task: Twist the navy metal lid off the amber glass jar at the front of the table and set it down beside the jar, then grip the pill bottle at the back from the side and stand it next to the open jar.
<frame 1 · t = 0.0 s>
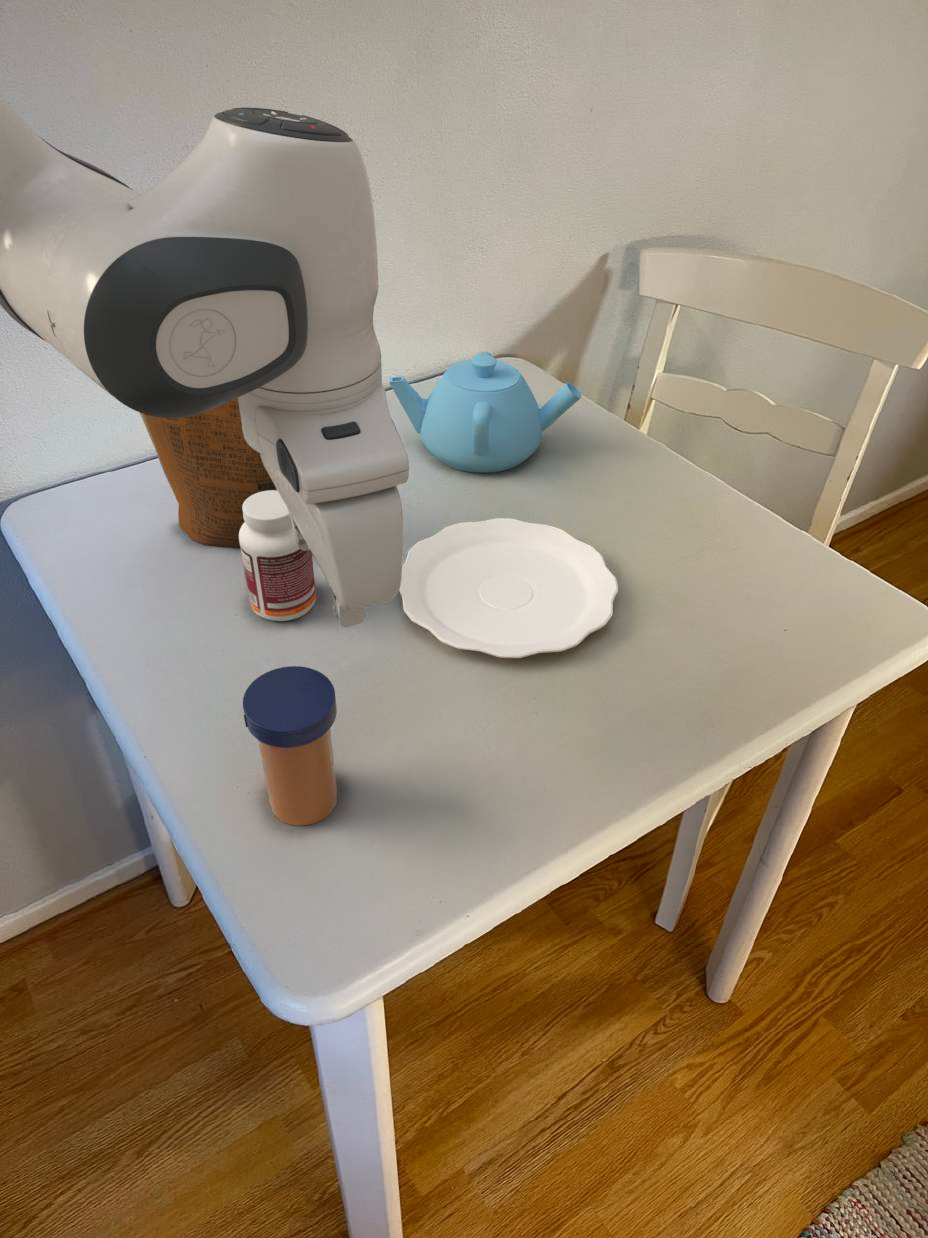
hand: (328, 579, 65), 14 cm above the table, tool pointing down, fingers open, 8 cm apart
jar lid: (289, 701, 61), point 10 cm above the table, screwed on, not yet turned
pancake mix bag: (254, 541, 92), on the table
teapot: (483, 449, 108), on the table
pill bottle: (283, 604, 85), on the table
plate: (505, 595, 87), on the table
jar: (303, 798, 67), on the table
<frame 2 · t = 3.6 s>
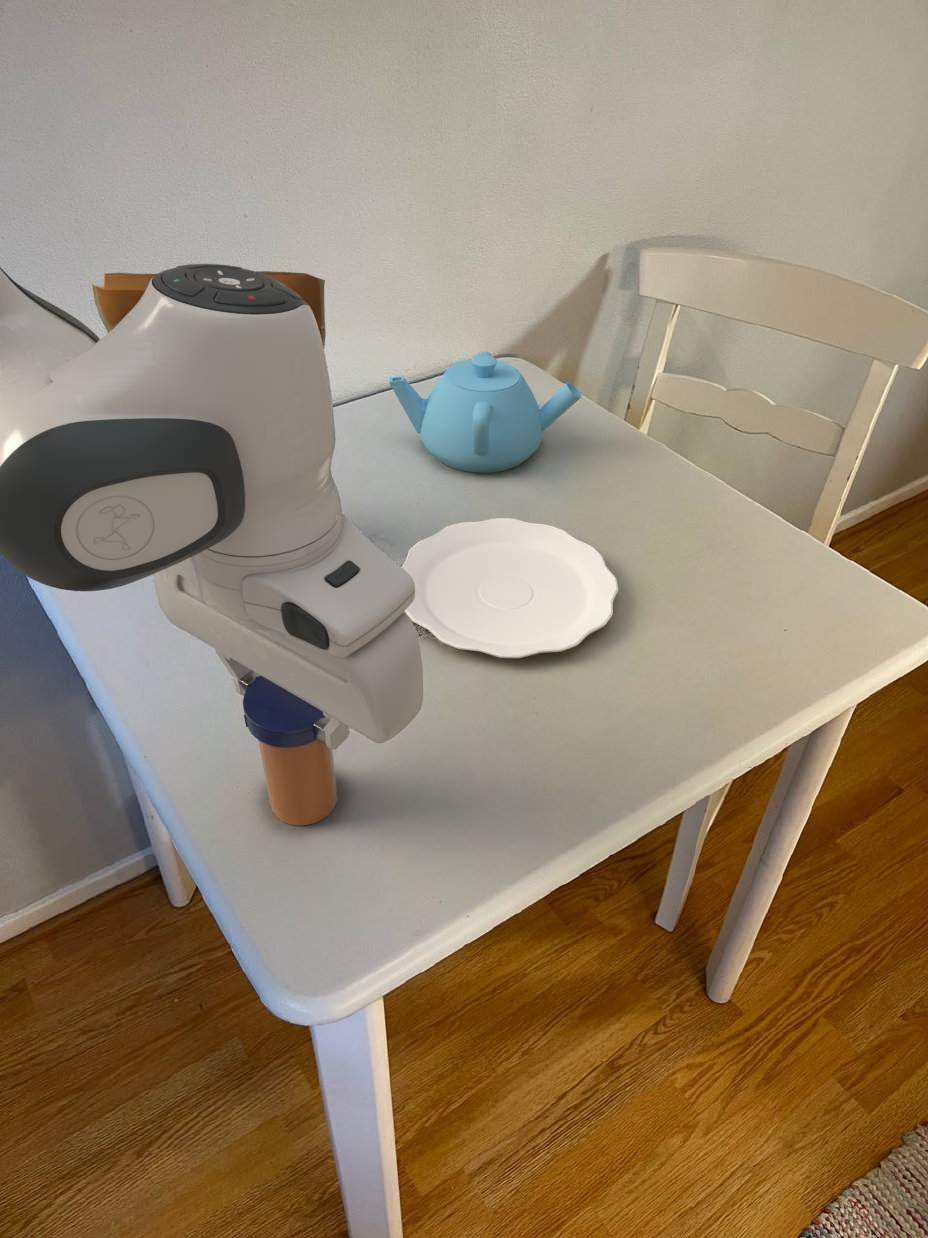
hand: (292, 715, 61), 9 cm above the table, tool pointing down, fingers closed on jar lid, 6 cm apart
jar lid: (289, 701, 61), point 10 cm above the table, screwed on, not yet turned, touching gripper
everything else where it was.
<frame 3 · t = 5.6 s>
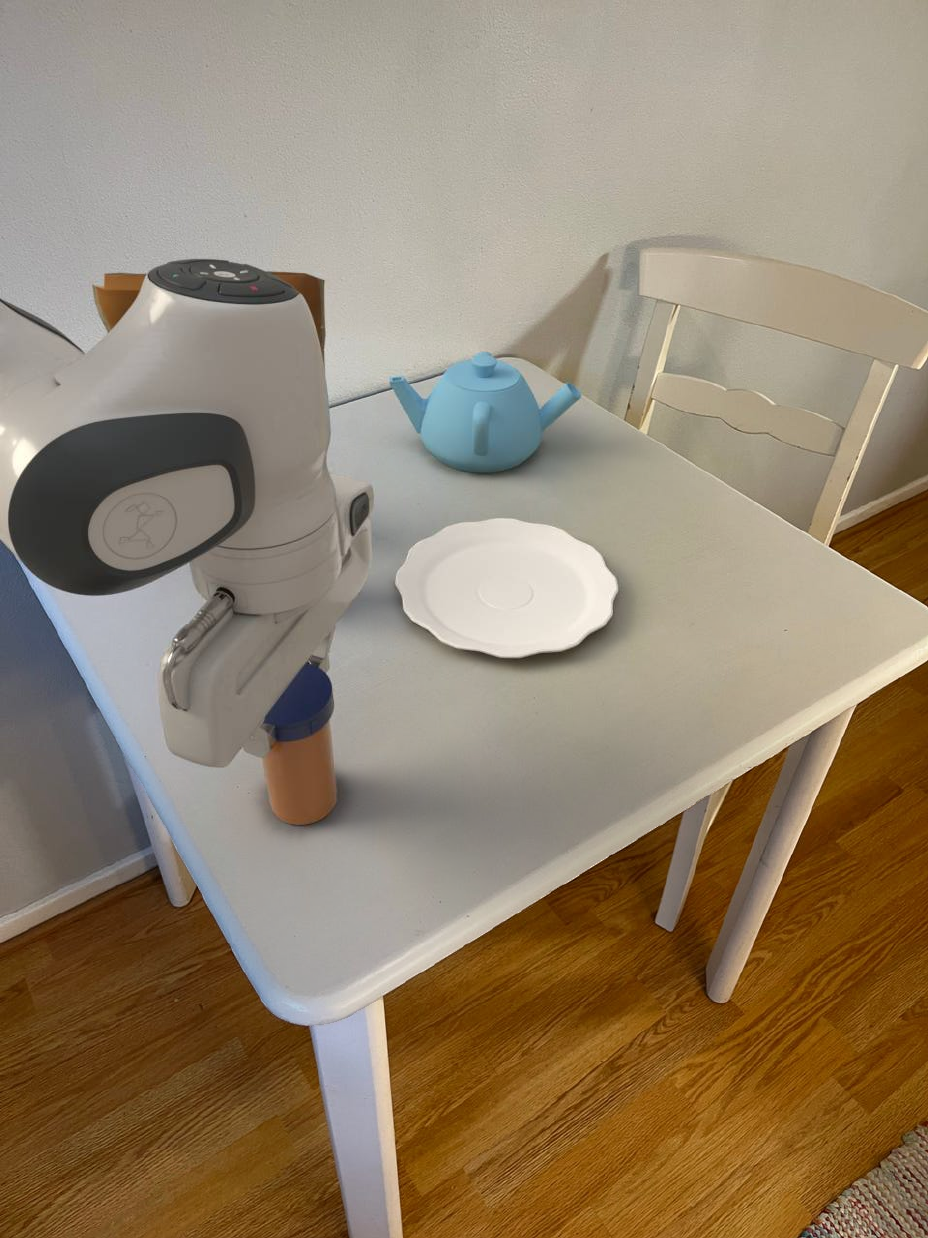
hand: (289, 709, 62), 9 cm above the table, tool pointing down, fingers closed on jar lid, 6 cm apart
jar lid: (287, 695, 61), point 11 cm above the table, off its thread, touching gripper, jar
jar: (303, 798, 67), on the table, touching jar lid
everything else where it was.
when the fingers open (0 cm above the table, at t = 14.8 s): jar lid stays where it is, point 1 cm above the table.
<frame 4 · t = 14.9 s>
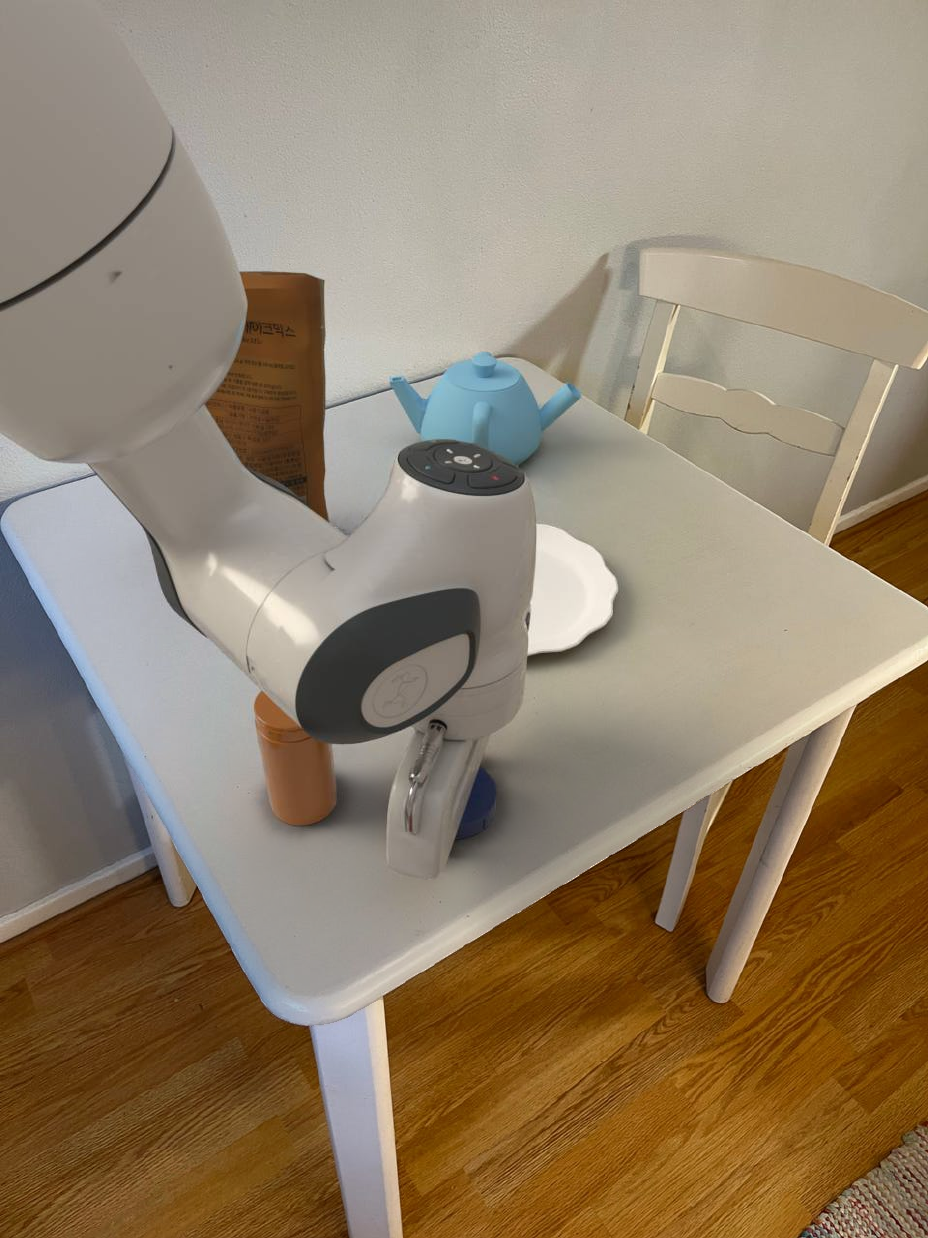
hand: (454, 806, 67), 0 cm above the table, tool pointing down, fingers open, 6 cm apart
jar lid: (455, 794, 66), point 1 cm above the table, off its thread
jar: (303, 798, 67), on the table
everything else where it was.
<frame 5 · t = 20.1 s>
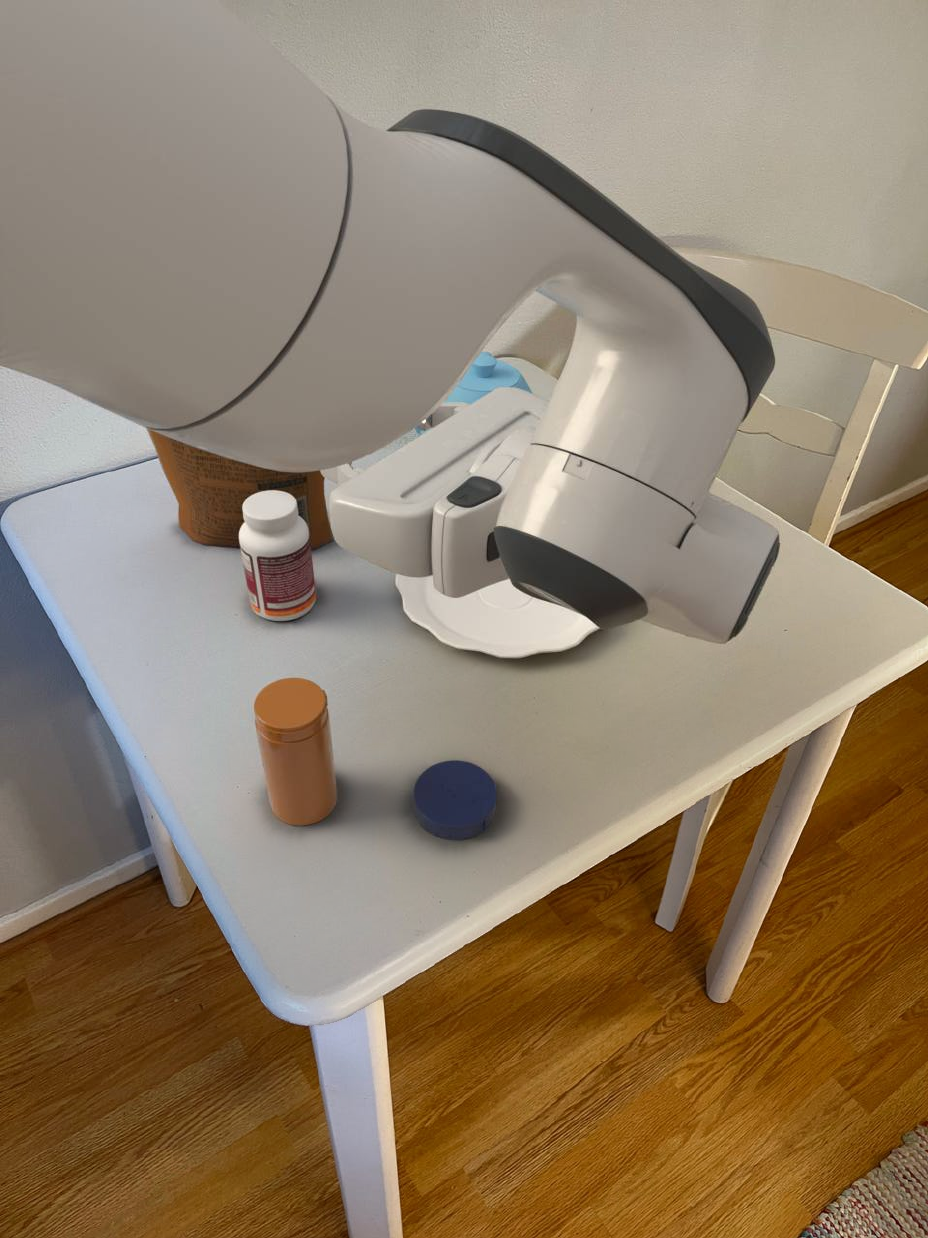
hand: (371, 434, 65), 22 cm above the table, tool horizontal, fingers open, 8 cm apart
jar lid: (455, 795, 66), point 1 cm above the table, off its thread
everything else where it was.
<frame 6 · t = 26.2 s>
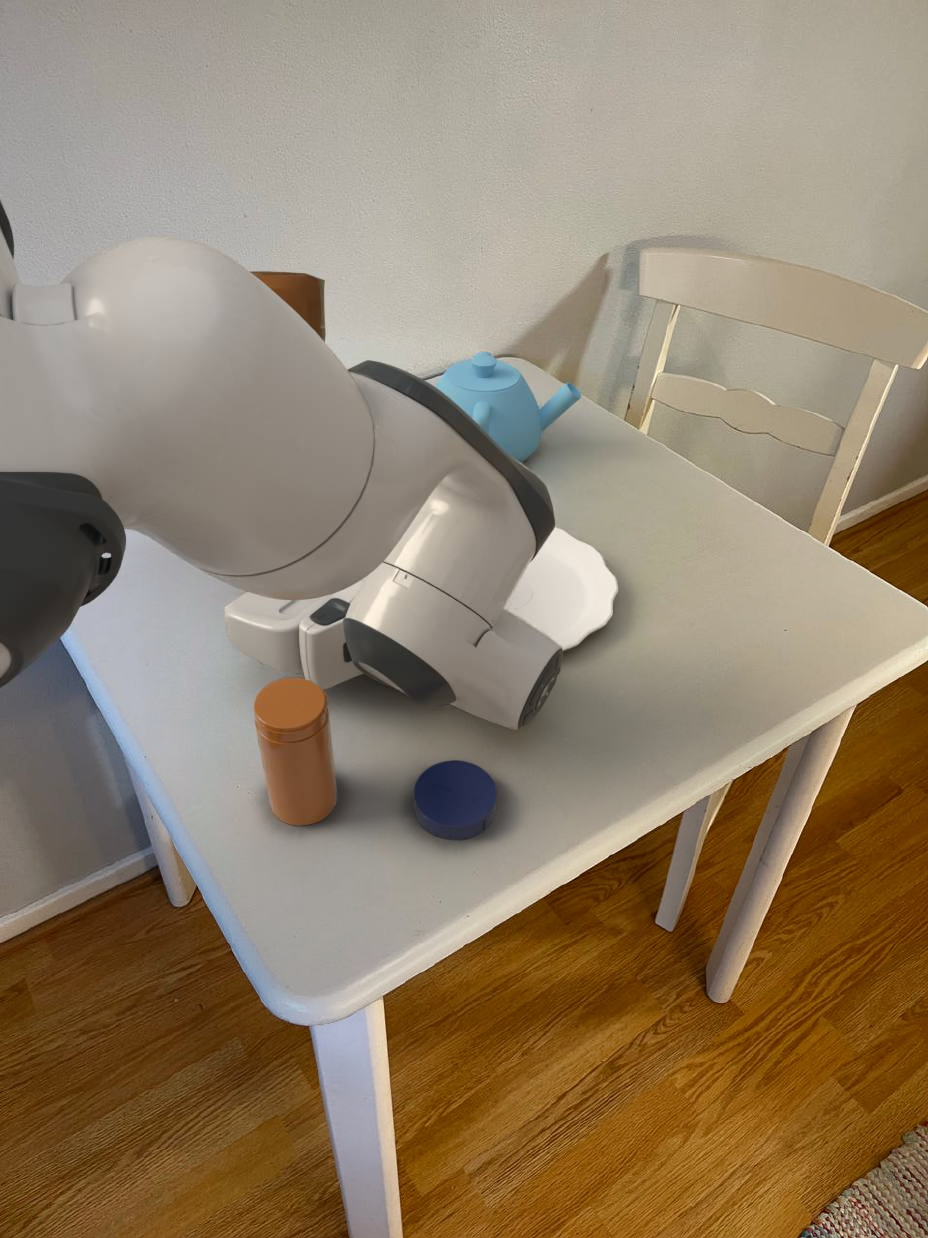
hand: (269, 547, 81), 6 cm above the table, tool horizontal, fingers closed on pill bottle, 6 cm apart
pill bottle: (284, 604, 85), on the table, touching gripper
everything else where it was.
when the fingers open (6 cm above the table, at t = 33.7 s): pill bottle stays where it is, on the table.
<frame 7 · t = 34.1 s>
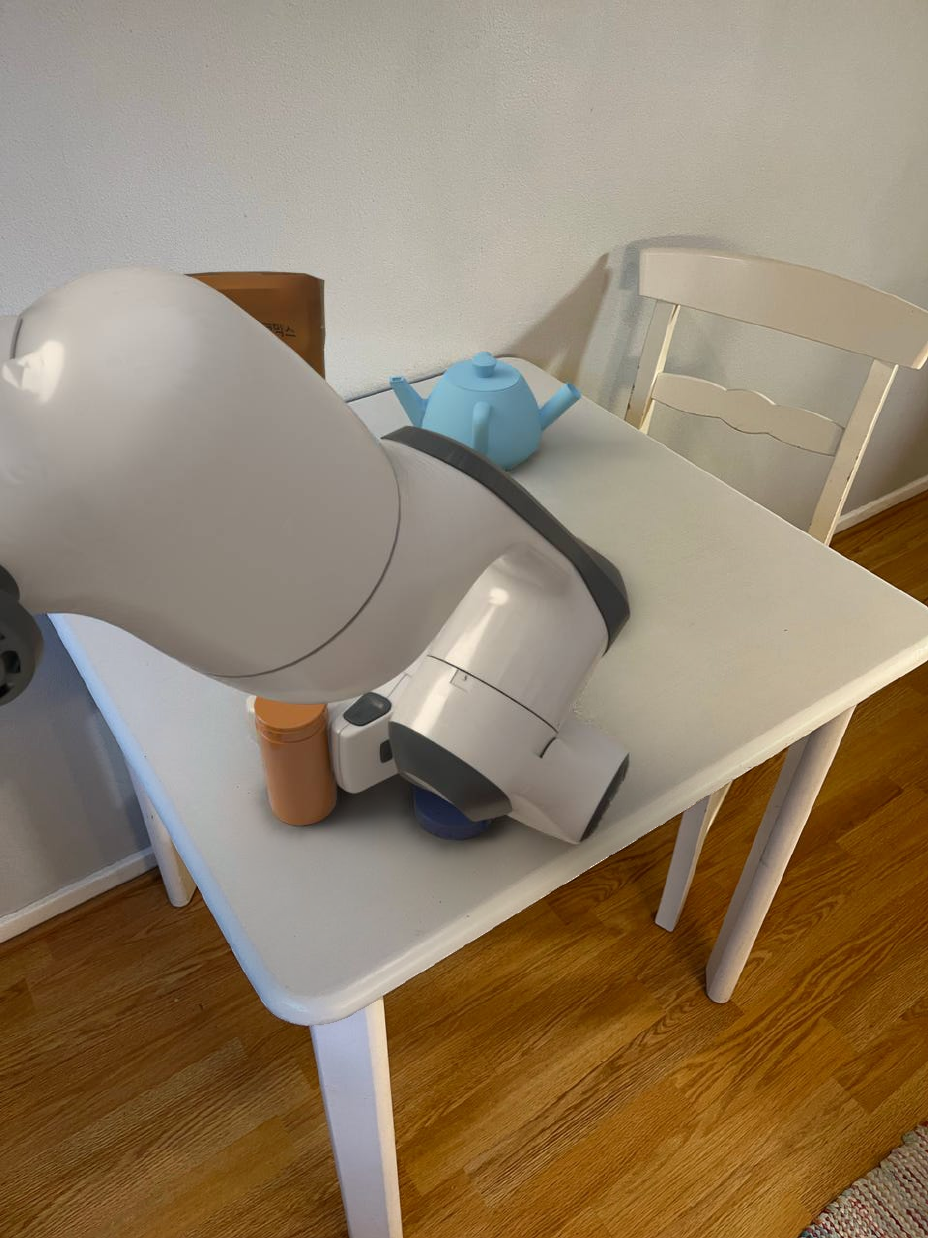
hand: (292, 622, 73), 6 cm above the table, tool horizontal, fingers open, 8 cm apart
pill bottle: (310, 682, 77), on the table
everything else where it was.
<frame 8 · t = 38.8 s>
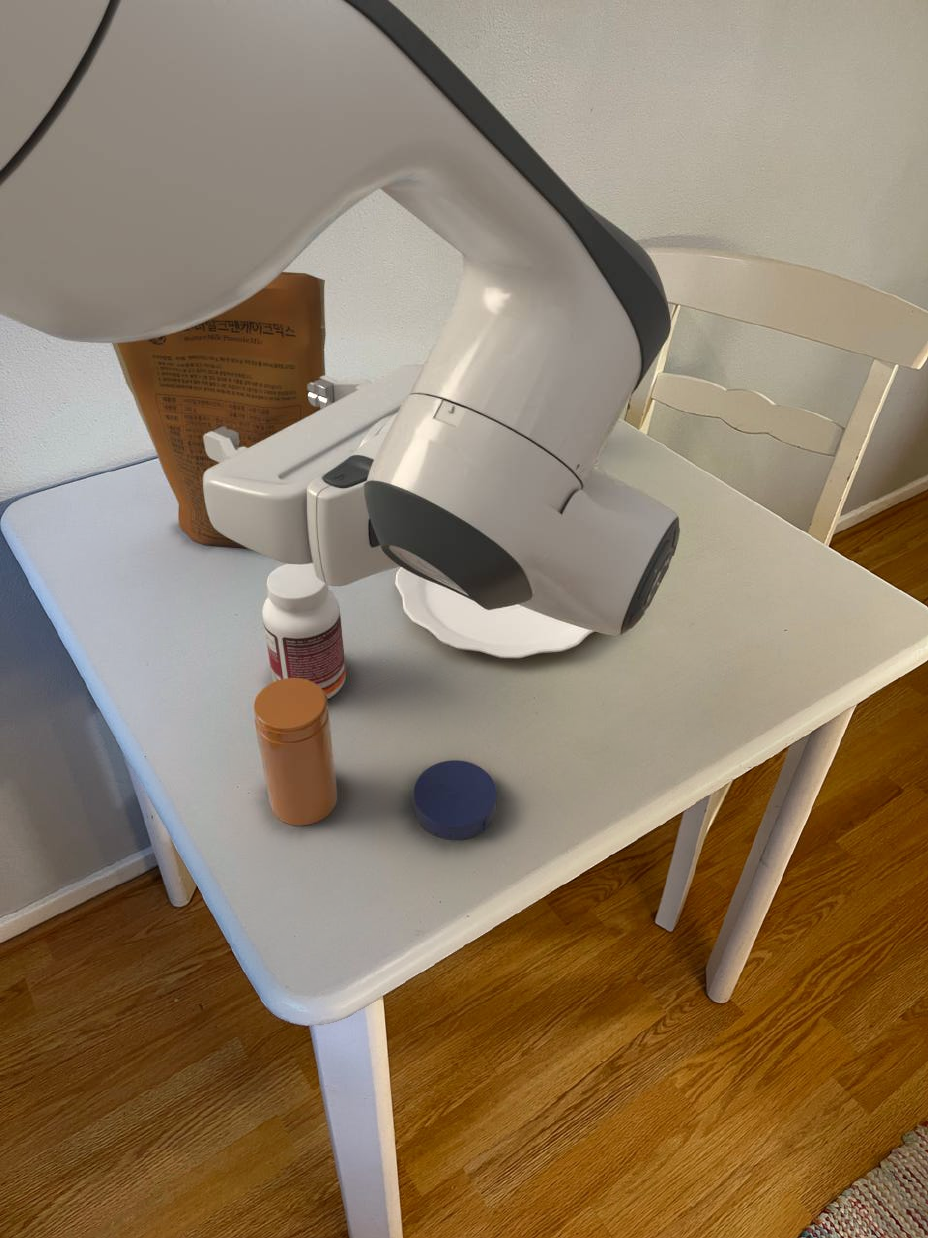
hand: (266, 413, 61), 25 cm above the table, tool horizontal, fingers open, 8 cm apart
nothing on the table moved.
at the end: jar lid point 1.3 cm above the table; the gripper is holding nothing; pill bottle 12.6 cm from the jar (horizontally) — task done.
